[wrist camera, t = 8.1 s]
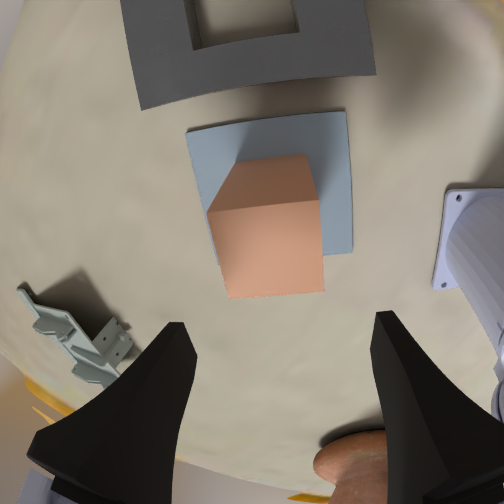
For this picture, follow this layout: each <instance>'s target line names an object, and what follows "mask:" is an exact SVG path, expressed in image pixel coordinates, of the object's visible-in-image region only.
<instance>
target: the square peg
mask: <svg viewBox="0 0 504 504" xmlns="http://www.w3.org/2000/svg"><path fill="white" fill-rule="evenodd" d="M206 215H207V219H208V222H209V226H210V230H211V234H212V238H213V241H214V245H215V249H216V253H217V256H218V260H219V264H220V267H221V271H222V275H223V278H224V282H225V286H226V289H227V293H228V296H229V299H233V298H249V297H263V296H276V295H289V294H301V293H312V292H323V291H324V271H323V252H322V236H321V222H320V209H319V199H318V195H317V192H316V188H315V184H314V181H313V177H312V174H311V170H310V167H309V163H308V160H307V156H306V153H305V154H296V155H287V156H278V157H270V158H263V159H255V160H248V161H241V162H235V164H234V165H233V167H232V169H231V170H230V172H229V174H228V175H227V177H226V179H225V181H224V182H223V184H222V186H221V187H220V189H219V191H218V193H217V194H216V196H215V198H214V200H213V202H212V203H211V205H210V207H209V209H208V210H207V212H206Z"/></svg>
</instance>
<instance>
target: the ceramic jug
mask: <svg viewBox="0 0 504 504" xmlns="http://www.w3.org/2000/svg"><path fill="white" fill-rule="evenodd" d="M313 468H314V471H315V473H316V474H317V475H318V476H319V477H321V478H323V479H325V480H327V481H329V482H331V483H333V484H334V485H336V488H335V490H334V492H333V494H332V496H331V498H330V501H329V503H328V504H387V494H388V458H387V441H386V430H373V431H365V432H359V433H355V434H351V435H347V436H345V437H342V438H339V439H337V440H335V441H333V442H331V443H329V444H328V445H326V446H325V447H323V448H322V449H321V450H320V451H319V452H318V453H317V454H316V456H315V458H314V461H313Z"/></svg>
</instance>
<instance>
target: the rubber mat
mask: <svg viewBox="0 0 504 504" xmlns="http://www.w3.org/2000/svg"><path fill="white" fill-rule="evenodd" d="M185 136H186V140H187V145H188V149H189V153H190V157H191V161H192V166H193V170H194V174H195V178H196V182H197V186H198V190H199V194H200V198H201V202H202V206H203V210H204V214H205V218H206V222H207V225H208V229H209V233H210V237H211V241H212V244H213V248H214V252H215V256H216V259H217V263H218V265H220V264H219V260H218V256H217V253H216V249H215V245H214V241H213V238H212V234H211V230H210V226H209V222H208V219H207V215H206V212H207V210H208V209H209V207H210V205H211V203H212V202H213V200H214V198H215V196H216V194H217V193H218V191H219V189H220V187H221V186H222V184H223V182H224V181H225V179H226V177H227V175H228V174H229V172H230V170H231V169H232V167H233V165H234V164H235V162H241V161H248V160H255V159H263V158H270V157H278V156H287V155H296V154H305V153H306V156H307V160H308V163H309V167H310V170H311V174H312V177H313V181H314V184H315V188H316V192H317V195H318V199H319V209H320V222H321V236H322V252H323V256H324V255H335V254H345V253H352V195H351V174H350V158H349V145H348V133H347V123H346V113H345V111H335V112H321V113H309V114H299V115H289V116H281V117H273V118H265V119H258V120H251V121H245V122H239V123H233V124H227V125H222V126H216V127H211V128H206V129H201V130H196V131H192V132H187V133H185Z"/></svg>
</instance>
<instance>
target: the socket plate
mask: <svg viewBox="0 0 504 504" xmlns="http://www.w3.org/2000/svg"><path fill="white" fill-rule="evenodd" d="M290 1H291V5H292V10H293V14H294V19H295V24H296V29H297V33H289V34H280V35H272V36H265V37H258V38H252V39H246V40H240V41H235V42H230V43H225V44H220V45H215V46H211V47H207V48H203V49H202V45H201V40H200V35H199V30H198V25H197V20H196V15H195V10H194V4H193V0H120V2H121V9H122V15H123V21H124V27H125V33H126V39H127V44H128V50H129V55H130V60H131V65H132V70H133V75H134V80H135V84H136V89H137V93H138V98H139V102H140V107H141V111H142V110H146V109H150V108H154V107H157V106H161V105H164V104H168V103H172V102H175V101H179V100H183V99H187V98H191V97H196V96H200V95H204V94H209V93H214V92H219V91H224V90H229V89H234V88H240V87H245V86H252V85H258V84H265V83H272V82H280V81H289V80H298V79H309V78H322V77H341V76H374V75H376V68H375V61H374V55H373V48H372V42H371V37H370V31H369V26H368V21H367V16H366V11H365V7H364V2H363V0H290Z"/></svg>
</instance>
